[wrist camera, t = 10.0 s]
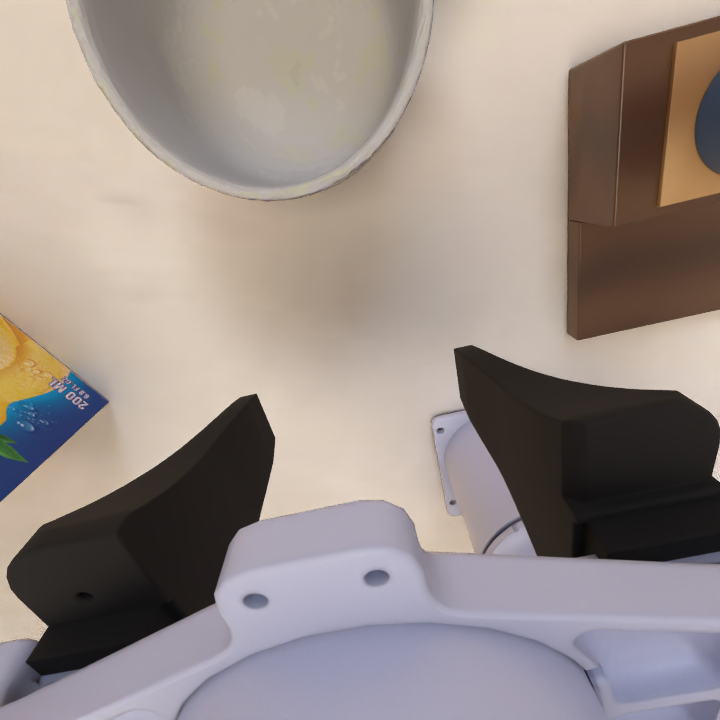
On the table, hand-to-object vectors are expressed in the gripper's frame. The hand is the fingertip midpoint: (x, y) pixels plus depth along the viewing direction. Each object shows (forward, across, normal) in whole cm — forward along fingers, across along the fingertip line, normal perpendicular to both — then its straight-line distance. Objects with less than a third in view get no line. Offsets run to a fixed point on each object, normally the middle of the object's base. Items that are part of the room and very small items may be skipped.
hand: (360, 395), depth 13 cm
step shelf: (+10, -18, -2) cm, 21 cm away
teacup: (+11, -1, -12) cm, 16 cm away
